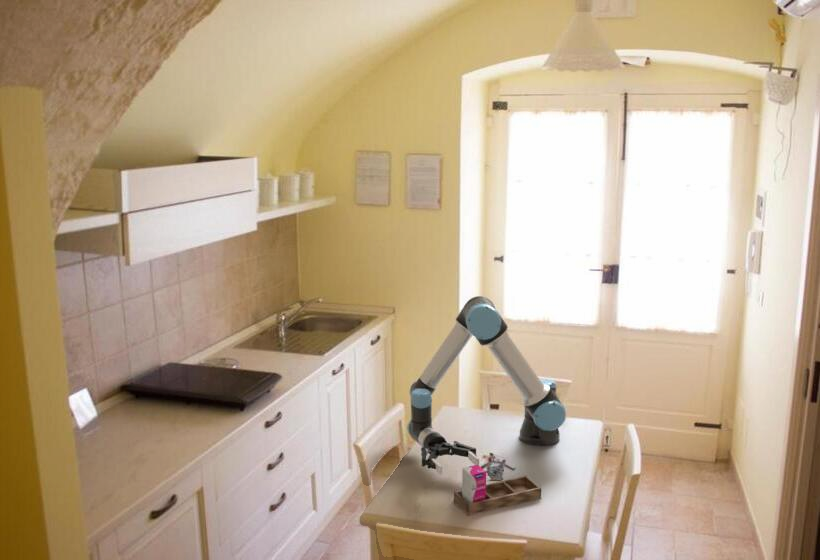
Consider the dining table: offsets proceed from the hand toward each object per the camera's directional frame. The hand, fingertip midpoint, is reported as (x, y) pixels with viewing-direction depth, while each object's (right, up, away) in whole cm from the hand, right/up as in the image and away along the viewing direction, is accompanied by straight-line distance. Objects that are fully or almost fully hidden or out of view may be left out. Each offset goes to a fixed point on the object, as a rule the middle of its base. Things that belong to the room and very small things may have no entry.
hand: (459, 466), depth 253 cm
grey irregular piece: (+14, -6, +19) cm, 25 cm away
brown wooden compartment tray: (+12, -10, -4) cm, 16 cm away
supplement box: (+4, -10, -7) cm, 13 cm away
